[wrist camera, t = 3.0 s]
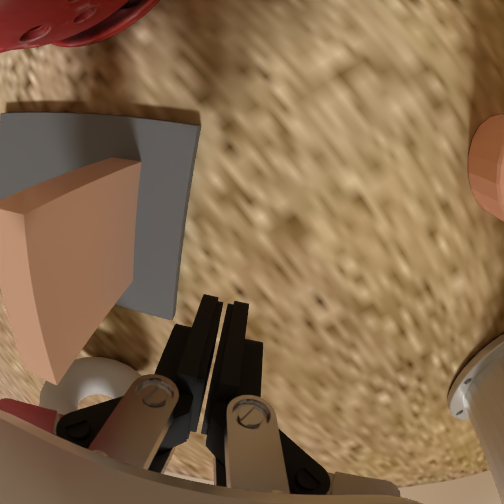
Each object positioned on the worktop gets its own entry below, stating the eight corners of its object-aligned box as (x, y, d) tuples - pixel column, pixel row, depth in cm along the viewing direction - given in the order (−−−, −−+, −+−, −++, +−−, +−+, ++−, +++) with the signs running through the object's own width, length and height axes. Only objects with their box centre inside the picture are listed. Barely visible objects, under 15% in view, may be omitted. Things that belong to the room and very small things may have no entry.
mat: (201, 125, 17) (197, 126, 16) (175, 314, 22) (172, 320, 21) (7, 112, 16) (0, 113, 16) (12, 263, 22) (6, 267, 21)
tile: (141, 161, 17) (24, 215, 8) (133, 280, 20) (57, 385, 11) (110, 157, 17) (-14, 205, 8) (105, 273, 20) (22, 368, 11)
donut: (170, 366, 24) (133, 466, 15) (170, 391, 26) (139, 484, 17) (69, 335, 24) (12, 413, 15) (75, 361, 26) (27, 436, 17)
